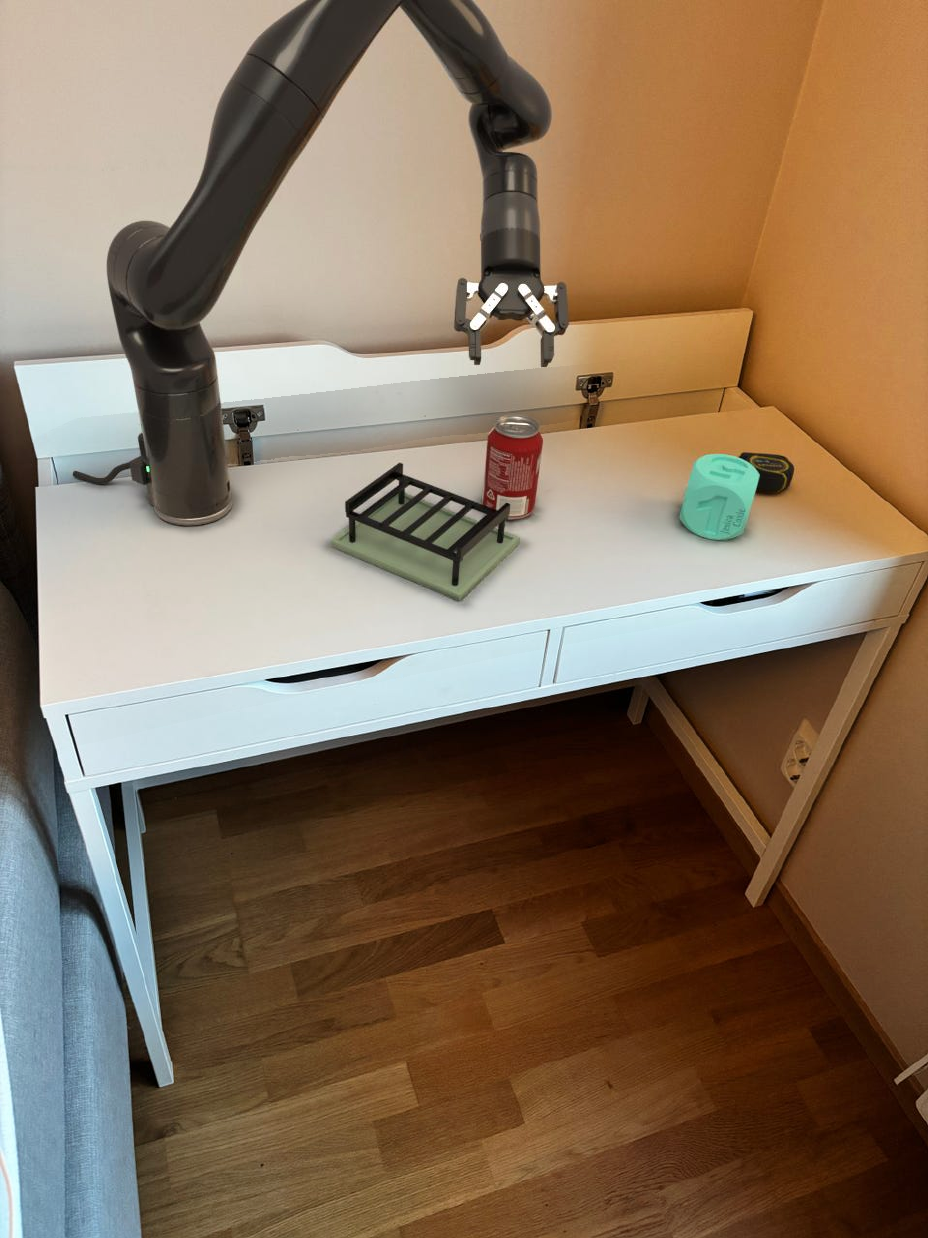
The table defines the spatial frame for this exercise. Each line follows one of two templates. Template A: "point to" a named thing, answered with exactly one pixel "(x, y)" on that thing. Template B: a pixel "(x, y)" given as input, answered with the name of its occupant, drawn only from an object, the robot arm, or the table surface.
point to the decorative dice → (719, 496)
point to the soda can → (512, 465)
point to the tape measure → (770, 471)
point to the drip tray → (420, 561)
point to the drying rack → (425, 516)
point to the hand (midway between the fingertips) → (511, 364)
